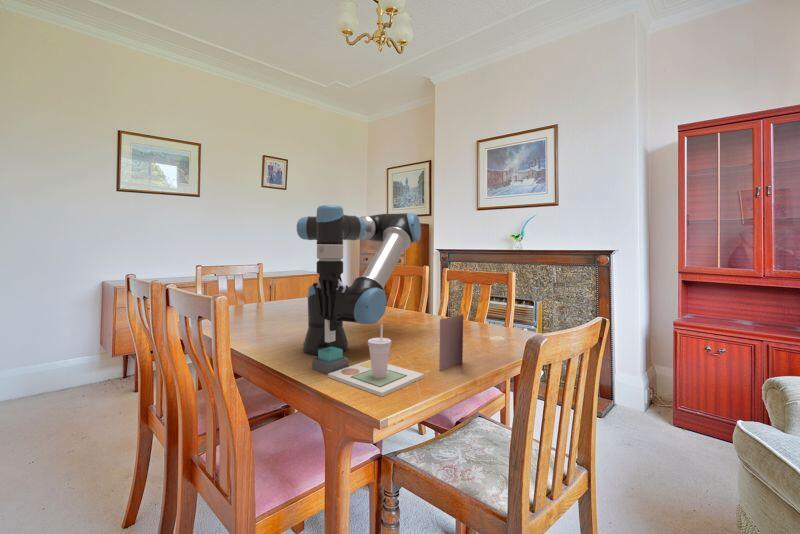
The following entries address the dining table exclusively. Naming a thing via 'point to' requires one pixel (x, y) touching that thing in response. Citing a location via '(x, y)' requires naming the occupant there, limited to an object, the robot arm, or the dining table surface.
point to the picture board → (364, 380)
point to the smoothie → (379, 355)
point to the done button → (330, 354)
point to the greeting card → (451, 341)
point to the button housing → (329, 365)
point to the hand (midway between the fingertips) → (330, 341)
